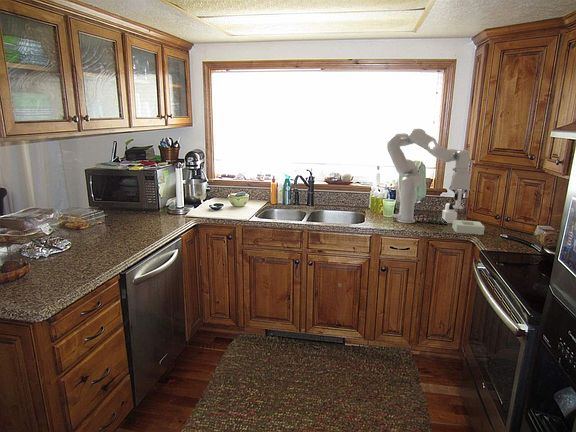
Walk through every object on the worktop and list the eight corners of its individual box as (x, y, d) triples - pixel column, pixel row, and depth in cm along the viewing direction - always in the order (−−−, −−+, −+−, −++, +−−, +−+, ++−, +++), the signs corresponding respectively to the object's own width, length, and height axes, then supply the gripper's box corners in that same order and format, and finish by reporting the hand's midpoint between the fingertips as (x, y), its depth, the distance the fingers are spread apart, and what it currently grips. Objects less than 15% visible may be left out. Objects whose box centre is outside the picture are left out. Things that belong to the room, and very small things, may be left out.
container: (452, 220, 277) (455, 202, 274) (456, 223, 269) (458, 205, 266) (441, 220, 278) (443, 202, 274) (444, 223, 270) (446, 204, 267)
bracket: (454, 208, 248) (455, 191, 246) (452, 206, 254) (454, 189, 251) (462, 209, 247) (464, 191, 244) (460, 207, 253) (462, 189, 250)
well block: (456, 232, 248) (457, 225, 247) (452, 227, 261) (453, 219, 259) (483, 234, 245) (484, 227, 244) (478, 229, 258) (479, 221, 256)
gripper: (448, 170, 243) (445, 200, 248) (476, 171, 240) (473, 201, 244) (446, 169, 250) (444, 198, 255) (474, 170, 247) (470, 199, 251)
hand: (458, 199), depth 249 cm, fingers closed on bracket
